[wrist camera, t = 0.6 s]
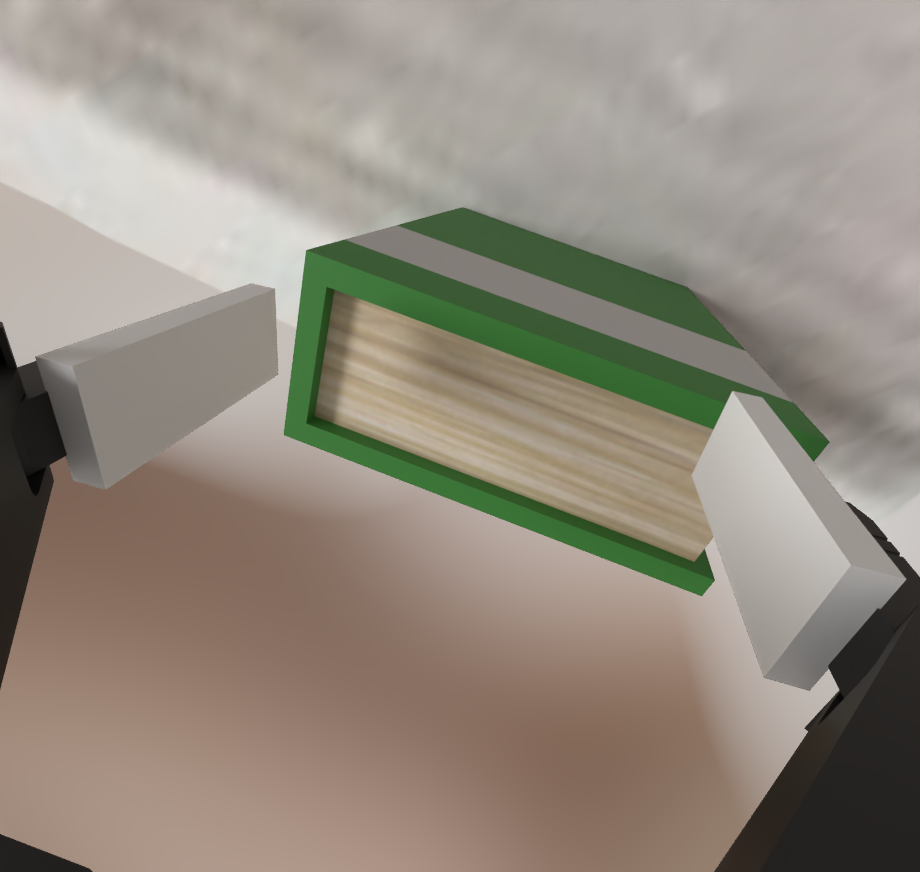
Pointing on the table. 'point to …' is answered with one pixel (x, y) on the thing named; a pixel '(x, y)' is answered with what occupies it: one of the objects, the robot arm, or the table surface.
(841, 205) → the table surface
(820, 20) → the table surface
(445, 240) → the hardback book
